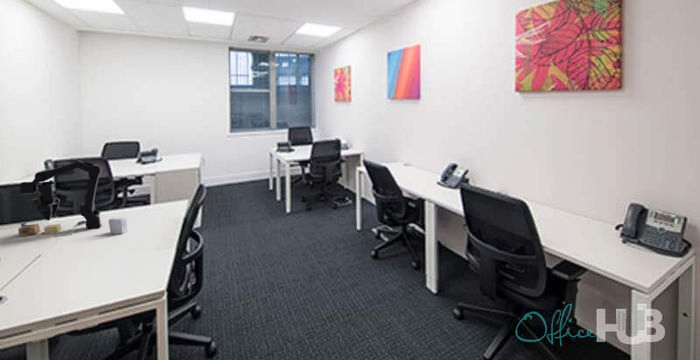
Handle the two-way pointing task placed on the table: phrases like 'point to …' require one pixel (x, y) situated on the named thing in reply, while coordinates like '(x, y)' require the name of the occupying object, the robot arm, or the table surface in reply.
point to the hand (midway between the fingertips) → (51, 218)
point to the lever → (24, 227)
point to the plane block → (30, 230)
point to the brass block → (52, 228)
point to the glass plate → (64, 233)
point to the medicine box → (118, 225)
